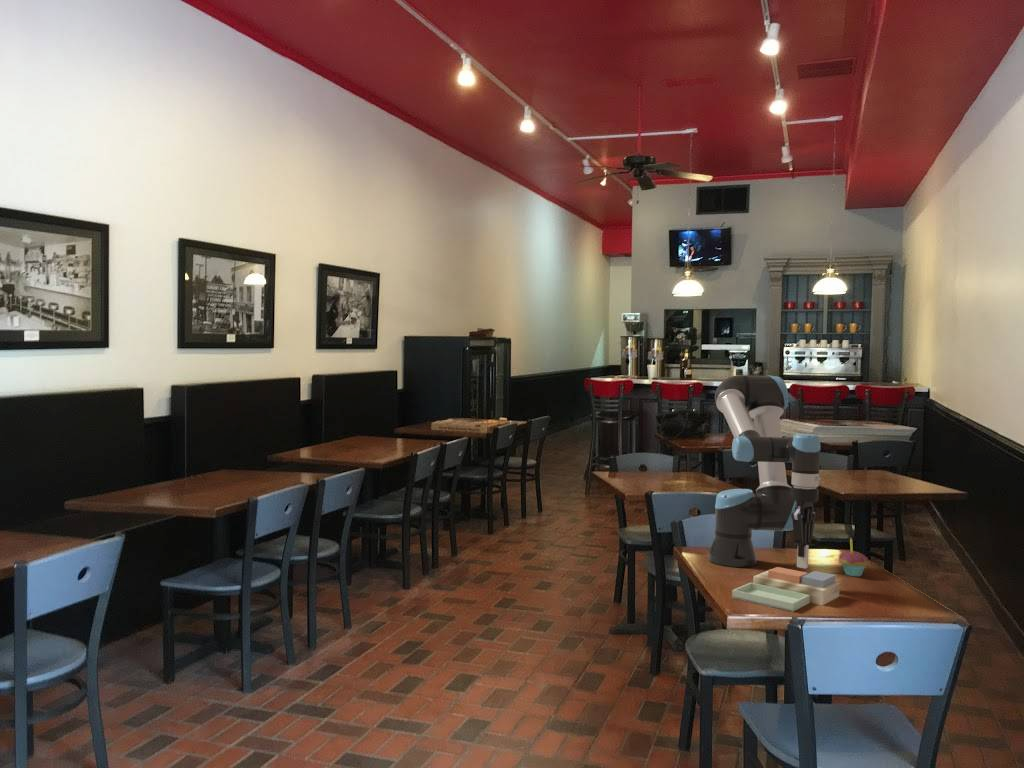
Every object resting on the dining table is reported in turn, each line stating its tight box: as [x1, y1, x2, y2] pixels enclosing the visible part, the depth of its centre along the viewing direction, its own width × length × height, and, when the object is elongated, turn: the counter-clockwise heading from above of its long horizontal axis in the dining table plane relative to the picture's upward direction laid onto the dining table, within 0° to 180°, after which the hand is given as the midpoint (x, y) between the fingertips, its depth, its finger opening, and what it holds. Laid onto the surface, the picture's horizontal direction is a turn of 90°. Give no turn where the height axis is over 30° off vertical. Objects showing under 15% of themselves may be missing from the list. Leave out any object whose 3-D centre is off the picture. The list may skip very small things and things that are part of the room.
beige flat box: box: [752, 568, 840, 606], centre depth 233 cm, size 20×12×4 cm, turn 48°
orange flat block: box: [767, 566, 809, 584], centre depth 234 cm, size 9×6×2 cm, turn 48°
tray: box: [731, 582, 811, 613], centre depth 226 cm, size 17×11×2 cm, turn 48°
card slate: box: [802, 570, 837, 588], centre depth 230 cm, size 9×6×2 cm, turn 138°
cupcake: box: [838, 538, 869, 577], centre depth 256 cm, size 9×8×12 cm
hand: (802, 567), depth 241 cm, fingers closed
